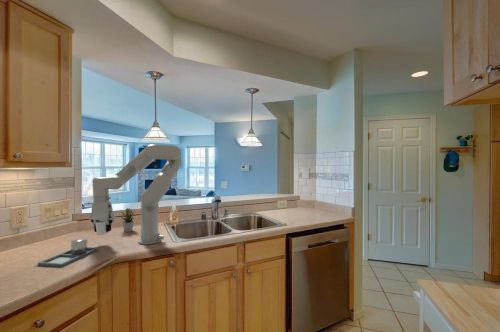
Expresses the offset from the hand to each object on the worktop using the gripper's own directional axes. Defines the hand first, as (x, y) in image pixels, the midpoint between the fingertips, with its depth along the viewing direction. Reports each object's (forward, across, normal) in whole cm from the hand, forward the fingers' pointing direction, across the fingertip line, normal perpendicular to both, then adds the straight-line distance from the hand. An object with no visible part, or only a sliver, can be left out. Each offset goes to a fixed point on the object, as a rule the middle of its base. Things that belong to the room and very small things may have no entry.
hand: (102, 231), depth 141 cm
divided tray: (+8, +1, +21) cm, 22 cm away
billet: (+7, +1, +16) cm, 17 cm away
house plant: (+9, +8, -33) cm, 35 cm away
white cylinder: (+2, 0, 0) cm, 2 cm away
